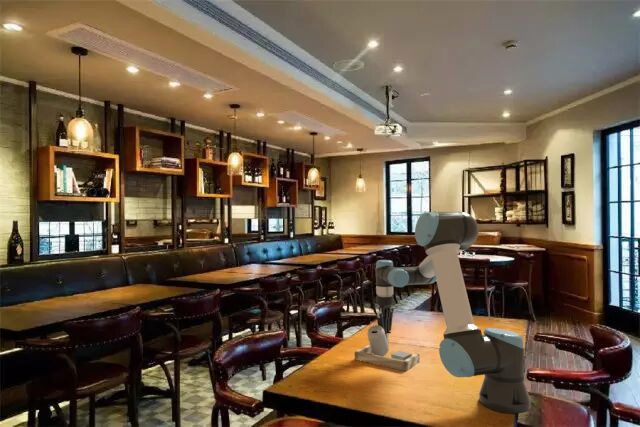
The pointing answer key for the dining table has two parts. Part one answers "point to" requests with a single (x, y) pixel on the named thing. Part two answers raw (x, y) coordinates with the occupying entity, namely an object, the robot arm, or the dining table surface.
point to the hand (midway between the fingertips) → (385, 348)
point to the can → (378, 340)
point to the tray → (386, 359)
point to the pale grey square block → (401, 355)
